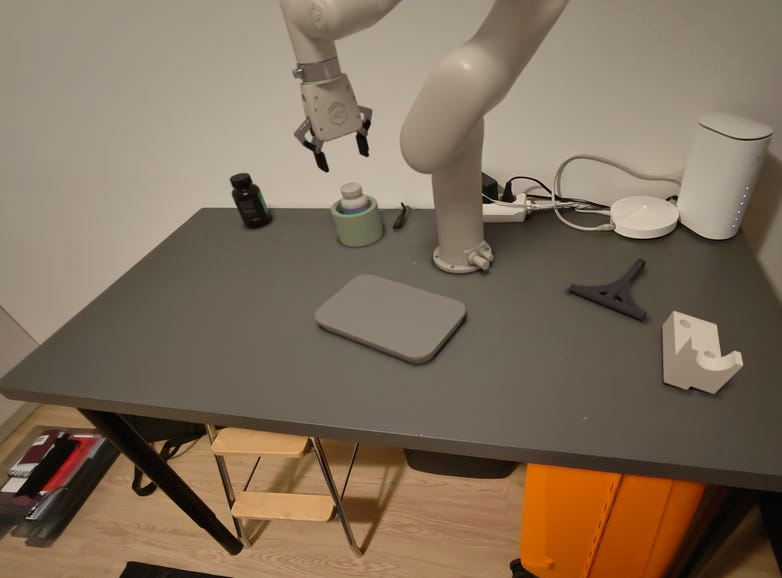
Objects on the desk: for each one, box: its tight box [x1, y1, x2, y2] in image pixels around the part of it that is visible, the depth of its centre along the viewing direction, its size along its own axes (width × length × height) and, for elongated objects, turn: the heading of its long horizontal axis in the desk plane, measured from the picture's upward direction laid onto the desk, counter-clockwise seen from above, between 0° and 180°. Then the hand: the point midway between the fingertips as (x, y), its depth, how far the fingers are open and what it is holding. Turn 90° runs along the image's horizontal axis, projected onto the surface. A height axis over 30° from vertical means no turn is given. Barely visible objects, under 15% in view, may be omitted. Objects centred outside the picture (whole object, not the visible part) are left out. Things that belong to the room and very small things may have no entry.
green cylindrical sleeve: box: [330, 194, 384, 248], centre depth 107 cm, size 10×10×8 cm
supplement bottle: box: [229, 172, 272, 229], centre depth 115 cm, size 7×7×12 cm
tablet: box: [314, 274, 467, 365], centre depth 85 cm, size 16×26×2 cm, turn 59°
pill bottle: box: [340, 182, 369, 215], centre depth 105 cm, size 6×6×11 cm
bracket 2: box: [662, 310, 744, 395], centre depth 70 cm, size 13×7×8 cm, turn 163°
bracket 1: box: [568, 257, 648, 322], centre depth 86 cm, size 14×15×3 cm
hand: (345, 163), depth 97 cm, fingers open, 9 cm apart
